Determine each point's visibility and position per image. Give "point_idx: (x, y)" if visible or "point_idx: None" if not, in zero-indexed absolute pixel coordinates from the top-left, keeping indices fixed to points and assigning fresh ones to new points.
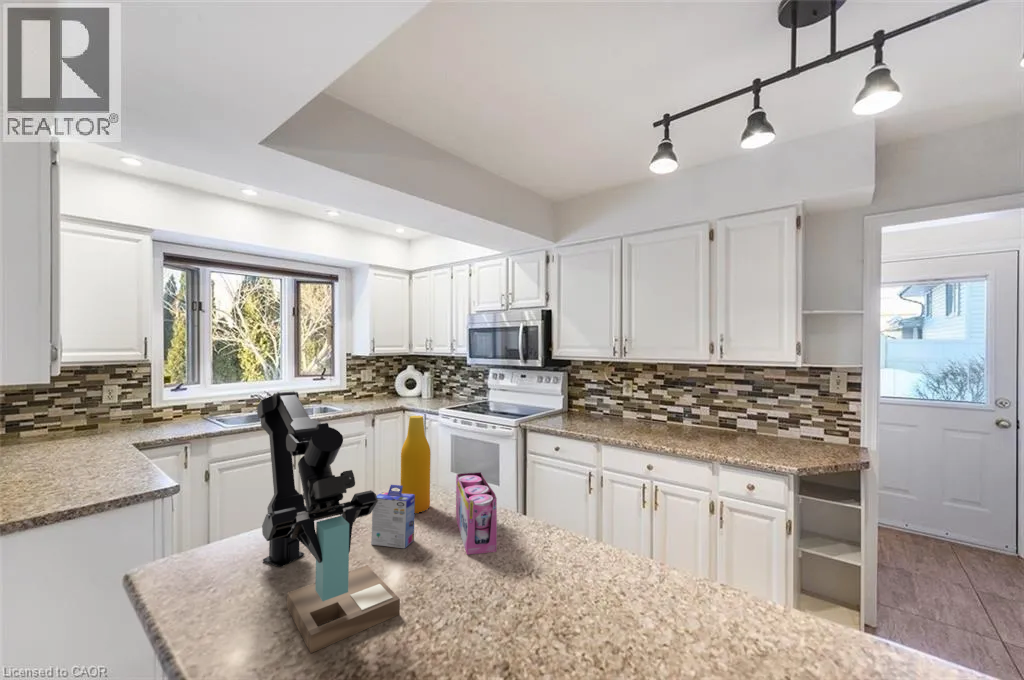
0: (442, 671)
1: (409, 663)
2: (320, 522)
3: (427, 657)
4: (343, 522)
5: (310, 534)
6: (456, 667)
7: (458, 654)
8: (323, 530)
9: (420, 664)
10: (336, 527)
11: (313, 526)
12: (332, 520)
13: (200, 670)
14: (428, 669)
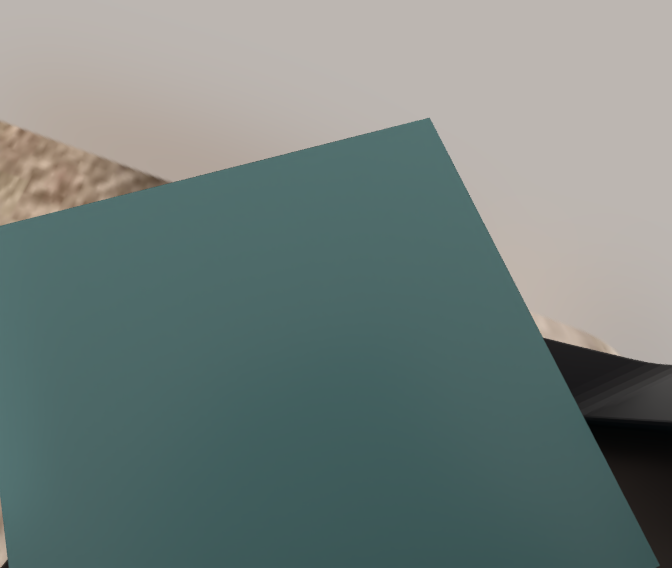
0: (62, 143)
1: (125, 189)
2: (563, 502)
3: (78, 192)
4: (76, 332)
5: (573, 367)
6: (27, 142)
7: (2, 175)
8: (433, 142)
9: (102, 178)
10: (235, 172)
11: (632, 411)
12: (313, 547)
13: (573, 330)
14: (90, 158)
